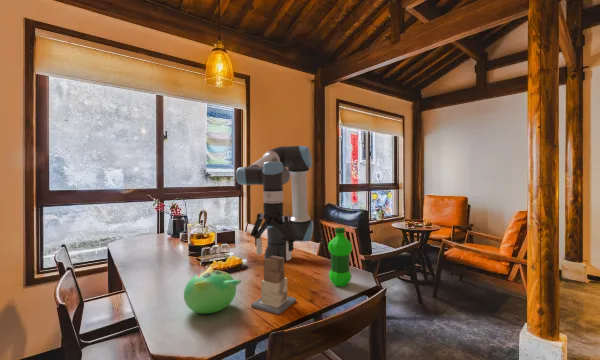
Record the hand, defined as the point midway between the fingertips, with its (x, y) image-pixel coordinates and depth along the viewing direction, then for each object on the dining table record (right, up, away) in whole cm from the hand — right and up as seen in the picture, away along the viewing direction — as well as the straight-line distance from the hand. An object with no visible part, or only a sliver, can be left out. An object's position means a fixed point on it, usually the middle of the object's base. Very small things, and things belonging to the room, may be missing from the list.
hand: (273, 256), depth 110 cm
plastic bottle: (+28, -17, +17) cm, 37 cm away
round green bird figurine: (-22, -18, -8) cm, 29 cm away
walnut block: (0, -8, -3) cm, 8 cm away
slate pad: (0, -17, -3) cm, 17 cm away
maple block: (0, -16, -3) cm, 16 cm away
